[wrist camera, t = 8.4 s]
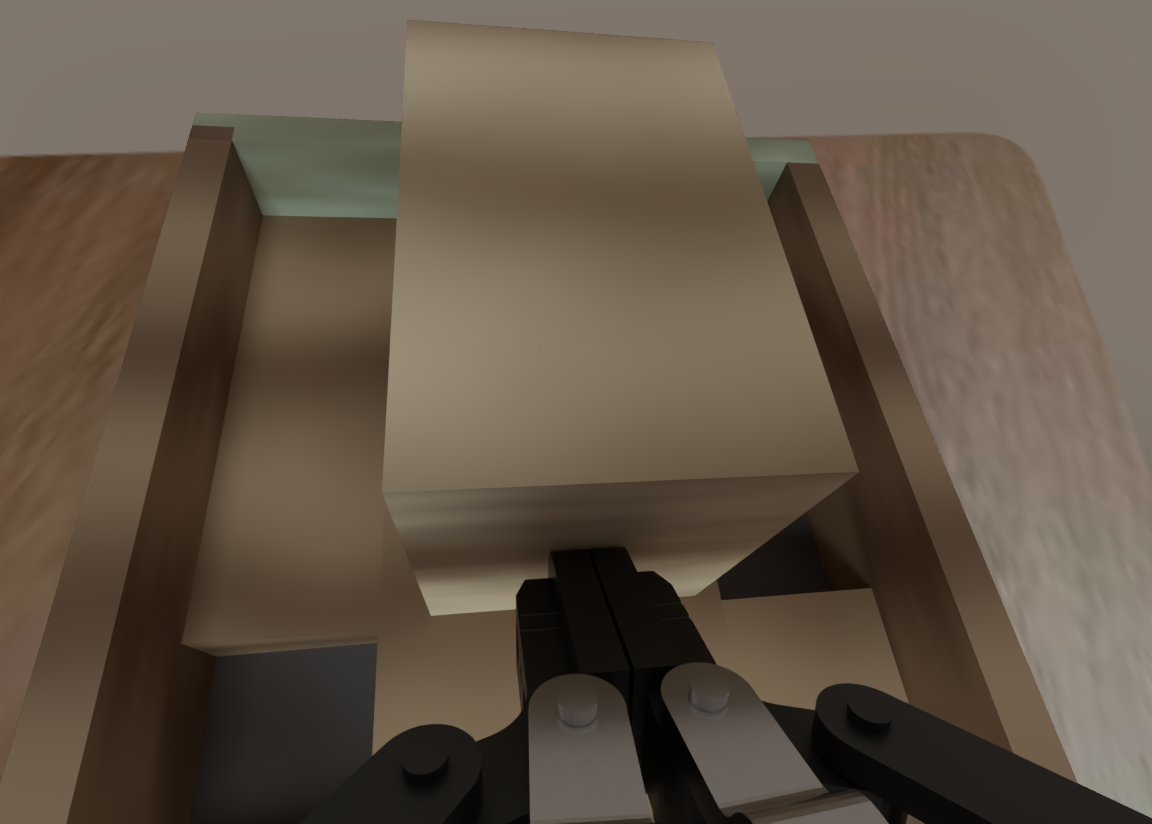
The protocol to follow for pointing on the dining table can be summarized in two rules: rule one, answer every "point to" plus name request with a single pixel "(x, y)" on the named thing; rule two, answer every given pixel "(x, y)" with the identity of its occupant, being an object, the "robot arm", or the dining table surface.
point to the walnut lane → (370, 539)
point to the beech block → (589, 319)
